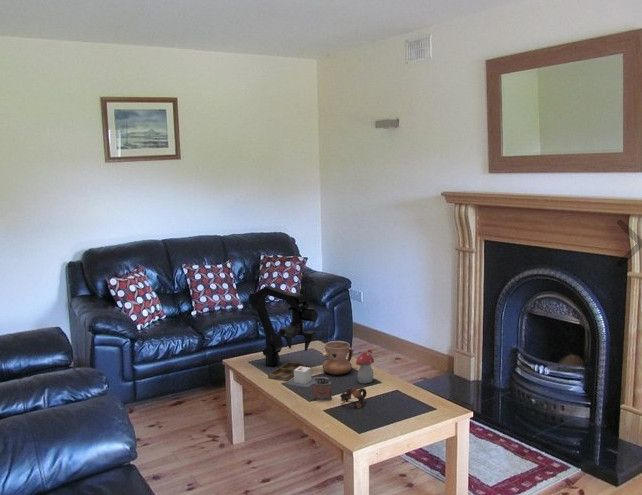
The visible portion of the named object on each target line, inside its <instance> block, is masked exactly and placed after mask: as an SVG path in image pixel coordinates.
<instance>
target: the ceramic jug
mask: <svg viewBox="0 0 642 495" xmlns="http://www.w3.org/2000/svg"><path fill="white" fill-rule="evenodd" d="M350 346H351V345H350V343H349V342H347V341H342V340H331V341H328V342H325V344H324V350H325V351H324V352H323V353H322V356H324V357H325V356H327V358H328V359H326V360H325V361H323V364H322V369H323V371H324V372H326V373H327V374H330V375H336V376H337V375H343V374H344V375H345V374H347V373H349V372H350V371H351V370H352V369H353V368H352V367H353V365H352V363H351V360H352V357H353V354H354V352H353V349H352V347H350Z"/></svg>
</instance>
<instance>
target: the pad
mask: <svg viewBox="0 0 642 495" xmlns="http://www.w3.org/2000/svg"><path fill="white" fill-rule="evenodd" d="M313 382H317V381H315V377H312V376H311V380H310V381H309V382H308V383H306V384H301V383H295V382H294V377H293V378H292V379H290V380H289V381H286V382H285V384H286V385H292V386H298V387H304V388H310V387H311V386H312V385H313Z"/></svg>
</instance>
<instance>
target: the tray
mask: <svg viewBox="0 0 642 495" xmlns="http://www.w3.org/2000/svg"><path fill="white" fill-rule="evenodd" d="M299 366H302V367H308V363H303V362H302V363H301V362H294V361H287V362H286V363H284V364H282V365H280V367H277V368H276V369H274V370H272V371H271V372H270V373H268V374H267V378H268V380H269V379H270V380H275V381H281V382H289V381H290V380H292V379H293V378H294V370H295V369H296V368H298V367H299Z"/></svg>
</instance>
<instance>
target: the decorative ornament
mask: <svg viewBox="0 0 642 495" xmlns="http://www.w3.org/2000/svg"><path fill="white" fill-rule="evenodd" d="M372 353H373V350H372V349H367V352H363V353H361V354H360V355H358V357H357V358H356V361H355V364H356V365H357V366H360V367H359V369H358V370H357V376H356V380H357V383H358V384H365V385H366V384H369V383H372V382H373V380H374V379H373V378H374V370H373V368H372V366H371V365H372V364H373V363H375V359H374V357H373V355H372Z"/></svg>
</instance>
